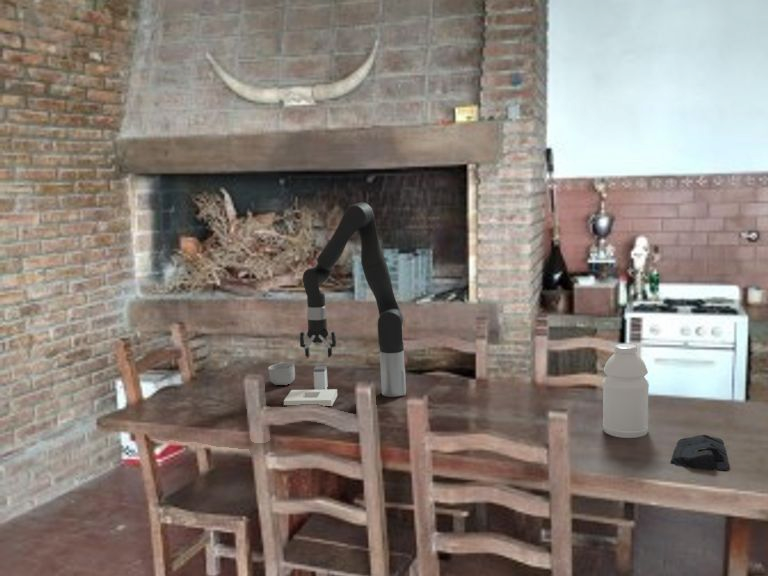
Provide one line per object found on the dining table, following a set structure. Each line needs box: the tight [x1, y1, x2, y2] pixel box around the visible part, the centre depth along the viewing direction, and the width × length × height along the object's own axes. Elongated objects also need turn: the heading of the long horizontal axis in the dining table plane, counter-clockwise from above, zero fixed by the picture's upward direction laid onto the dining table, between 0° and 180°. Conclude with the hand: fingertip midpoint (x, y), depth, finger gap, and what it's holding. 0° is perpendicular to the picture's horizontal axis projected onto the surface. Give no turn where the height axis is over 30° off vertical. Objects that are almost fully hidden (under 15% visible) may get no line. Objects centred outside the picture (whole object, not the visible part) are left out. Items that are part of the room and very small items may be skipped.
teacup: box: [267, 361, 296, 386], centre depth 314 cm, size 14×11×8 cm
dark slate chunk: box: [670, 434, 730, 471], centre depth 218 cm, size 15×22×5 cm
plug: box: [312, 365, 329, 390], centre depth 302 cm, size 4×5×9 cm
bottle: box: [602, 343, 650, 439], centre depth 238 cm, size 14×14×28 cm
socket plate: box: [283, 388, 338, 407], centre depth 287 cm, size 18×14×2 cm
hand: (318, 357), depth 301 cm, fingers open, 8 cm apart
